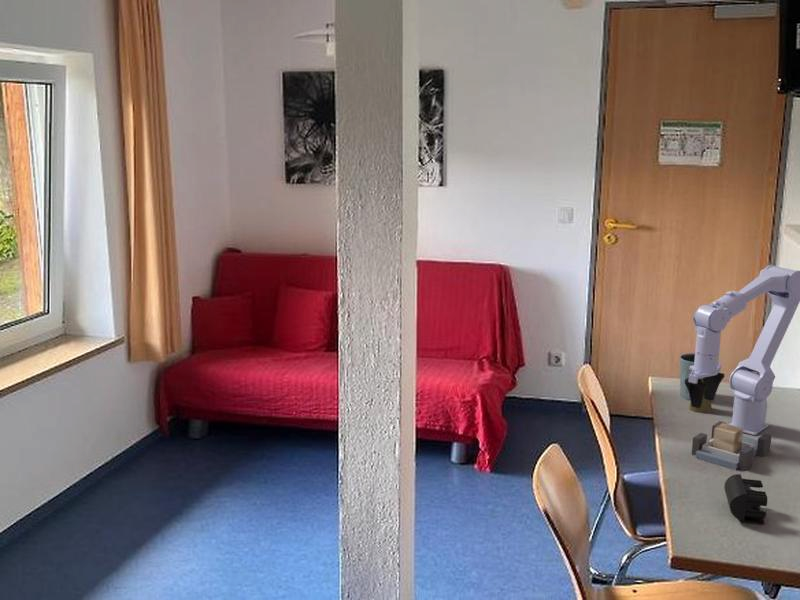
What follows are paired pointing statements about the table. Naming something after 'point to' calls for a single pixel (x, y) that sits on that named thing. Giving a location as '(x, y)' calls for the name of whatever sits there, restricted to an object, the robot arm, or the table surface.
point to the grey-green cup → (685, 373)
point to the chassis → (729, 459)
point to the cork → (702, 406)
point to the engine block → (728, 438)
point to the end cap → (745, 499)
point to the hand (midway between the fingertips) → (702, 403)
